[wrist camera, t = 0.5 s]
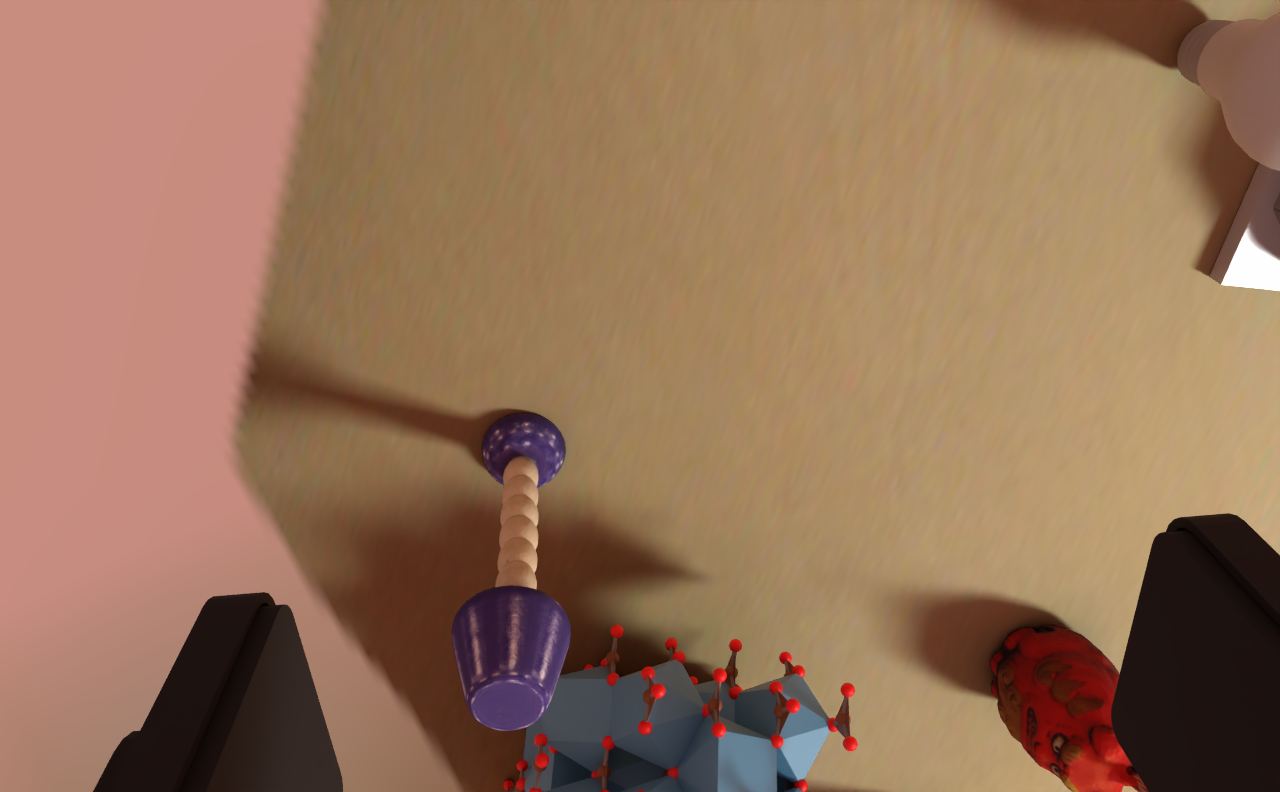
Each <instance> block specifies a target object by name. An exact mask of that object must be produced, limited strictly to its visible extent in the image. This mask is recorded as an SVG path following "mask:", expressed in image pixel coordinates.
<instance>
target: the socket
mask: <svg viewBox="0 0 1280 792" xmlns="http://www.w3.org/2000/svg"><path fill="white" fill-rule="evenodd" d="M1209 277H1211V278H1212V279H1214V280H1215V281H1217V282H1218V283H1220V284H1221V285H1230V286H1240V287H1249V288H1259V289H1269V290H1279V291H1280V171H1278V170H1274V169H1271V168H1269V167H1267V166H1264V165H1262V164H1261V163H1259V164H1258V167H1257V169H1256V171H1255V173H1254V176H1253V178H1252V180H1251V183H1250V185H1249V187H1248V189H1247V192H1246V194H1245V196H1244V199H1243V201H1242V203H1241V205H1240V208H1239V210H1238V212H1237V214H1236V217H1235V219H1234V221H1233V224H1232V226H1231V228H1230V230H1229V233H1228V235H1227V237H1226V240H1225V242H1224V244H1223V246H1222V249H1221V251H1220V253H1219V255H1218V258H1217V260H1216V262H1215V265H1214V267H1213V269H1212V271H1211V274H1210V276H1209Z"/></svg>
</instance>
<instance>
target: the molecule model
mask: <svg viewBox="0 0 1280 792" xmlns="http://www.w3.org/2000/svg"><path fill="white" fill-rule="evenodd" d="M611 635H612V636H613V637H614V640H613V646H612V649H611V652H610V653H608V654H607V656H606V658H605V659H603V660H602V661H601V663H600V666H599V667H595V668H594V667H593V666H592V665H586V666H585V667H584V670H581V671H577V672H572V673H568V674H563V675H559V678H558V681H557V684H556V687H555V690H554V693H553V696H552V698H551V701H550V704H549V706H548V708H547V710H546V711H545V713H544V714H543V716H542V717H541V718H540V719H539V720H538V721H536V722H535V723H534V724H532V725H530V726H528V727H527V730H526V739H525V748H524V756H523V760H520V761H519V762H518V763H517V769H518V771H520V779H519V780H518V781H517V783H516V785H515V790H514V792H805V791H806V790H807V788H808V785H807V782H806V781H805V780H804V779H805V777H806V775H807V773H808V771H809V769H810V767H811V766H812V764H813V762H814V760H815V758H816V756H817V754H818V752H819V750H820V749H821V747H822V745H823V743H824V741H825V739H826V737H827V735H828V734H829V732H830V731H831V732H836V731H837V730H838V731H839V732H840V733H841V734H842V735H843V736H844V737H845V739H844V741H843V746H844V748H845V749H846V750H848V751H854V750H855V749H856V748H857V741H856V739H855V738H854V737H851V736H850V727H849V723H850V716H849V705H848V701H849V697H851V696H853V695H854V693H855V688H854V686H853V685H852V684H850V683H845V684H843V685H842V687H841V693H842V694H843V695H844V700H843V703H842V705H841V707H840V710H839V712H838V714H837V716H836V718H830V719H829V718H828V716H827V715H826V713H825V712H824V710H823V709H822V707H821V705H820V704H819V702H818V701H817V699H816V698H815V696H814V695H813V693H812V692H811V690H810V689H809V687H808V686H807V684H806V683H805V681H804V679H803V678H802V677H803V676H804V675H805V670H804V668H803V667H802V666H800V665H797V666H795V667H793V665H792V664H791V663H790V662H791V659H792V657H791V655H790V653H788V652H782V653H781V654H780V656H779V659H780V661H781V663H783V664H785V667H786V673H785V675H784V677H782V678H779V679H776V680H773V681H770V682H767V683H764V684H761V685H758V686H755V687H752V688H749V689H746V690H743V691H742V689H741V688H740V687H738V686H737V687H736V684H735V678H736V677H737V675H738V670H737V668H736V667H735V660H736V653H737V652H738V651H740V650H741V648H742V644H741V642H740V641H739V640H737V639H734V640H732V641H731V642H730V644H729V647H730V649H731V650H732V651H733V652H732V656H731V658H730V661H729V663H728V666H727V668H726V669H725V670H724V669H722V668H718V669H716V670H715V671H714V672H713V678H714V680H713V681H709V682H705V683H701V684H698V680H697V678H696V677H693V676H692V677H689V675H688V673H687V672H686V670H685V668H684V666H683V663H684V662H685V654H684V653H683V652H681V651H677V652H675V649H676V648H677V645H678V644H677V641H676V640H675V639H674V638H669V639H667V640H666V642H665V646H666V648H667V649H668V650H670V656H671V659H669V660H668V662H665V663H662V664H659V665H656V666H653V667H645V668H643V669H642V670H641V671H638V672H635V673H632V674H629V675H626V676H623V677H619V675H618V674H616V673H615V665H616V664H617V663H618V662H619V655H618V654H617V653H616V648H617V642H618V638H619V637H621V636H622V635H623V628H622V627H621V626H620V625H614V626H613V627H612V628H611ZM524 772H525V773H524ZM503 787H504V789H505V790H506V792H510V790H511V789H512V788H513V782H512V781H511V780H506V781H505V782H504V784H503Z"/></svg>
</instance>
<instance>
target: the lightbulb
mask: <svg viewBox="0 0 1280 792" xmlns="http://www.w3.org/2000/svg"><path fill="white" fill-rule="evenodd" d="M1177 64H1178V68H1179V71H1180V72H1181V74H1182V75H1183V76H1184V77H1185V78H1186V79H1188V80H1189V81H1191V82H1193V83H1195V84H1197V85H1199V86H1201V87H1202V89H1203V90H1204V91H1205V92H1206V94H1207V95H1209V96H1210V97H1212V98H1214V99H1216V100H1218V101H1219V102H1220V103H1221V107H1222V111H1223V115H1224V119H1225V122H1226V126H1227V129H1228V131H1229V133H1230V134H1231V136H1232V138H1233V140H1234V141H1235V142H1236V143H1237V144H1238V145H1239V146H1240V147H1241V148H1242V149H1243V150H1244V151H1245V152H1246V153H1247V155H1248V156H1249V157H1250V158H1252V159H1254V160H1255V161H1257V162H1259V163H1261V164H1262V165H1264V166H1267V167H1269V168H1271V169H1274V170H1278V171H1280V12H1279V13H1277V14H1275V15H1274V16H1272V17H1270V18H1268V19H1267V20H1254V19H1246V20H1240V21H1236V22H1232V21H1225V20H1210V21H1207V22H1204V23H1202V24H1200V25H1198V26H1196V27H1195V28H1194V29H1192V30H1191V31H1190V32H1189V33H1188V34H1187V36H1186V37H1185V38H1184V40H1183V42H1182V44H1181V45H1180V48H1179V51H1178V56H1177Z"/></svg>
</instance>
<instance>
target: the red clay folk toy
mask: <svg viewBox="0 0 1280 792" xmlns="http://www.w3.org/2000/svg"><path fill="white" fill-rule="evenodd" d="M990 667H991V669H992V671H993V673H994V674H995V675H996V678H995V680H993V681H992V683H991V690H992V693H993V694H994V696H995V697H996V698H997V699H998V703H997V705H998V711H999V714H1000V717H1001V719H1002V721H1003V722H1004V723H1005V724H1006V726H1007V728H1008V730H1009V732H1010V734H1011V735H1012V736H1013V737H1014V738H1015V739H1016V740H1018V741H1019V742H1020V743H1021V744H1022V746H1023V747H1024V749H1025V750H1026V752H1027V753H1028V754H1029V755H1030V756H1031V757H1032V758H1033V759H1034V760H1035V762H1036V763H1037V764H1038V765H1039V766H1041V767H1043V768H1045V769H1047V770H1049V771H1050V772H1052V773H1053V774H1055V775H1056V776H1057V777H1059V778H1060V779H1061V780H1062V782H1063V783H1064V785H1065V786H1066V787H1067V788H1068V789H1069V790H1071V791H1073V792H1121V791H1122V788H1123V786H1124V785H1125V786H1132V787H1133V788H1134V789H1136V790H1137V791H1138V792H1149V791H1148V790H1147V788H1146V787H1145V785H1144V784H1143V782H1142V780H1141V779H1140V777H1139V775H1138V774H1137V772H1136V770H1135V769H1134V767H1133V766H1132V764H1131V762H1130V761H1129V759H1128V758H1127V756H1126V754H1125V753H1124V751H1123V749H1122V748H1121V746H1120V745H1119V743H1118V741H1117V739H1116V736H1115V733H1114V730H1113V726H1112V721H1111V708H1112V703H1113V699H1114V695H1115V691H1116V687H1117V683H1118V679H1119V675H1120V674H1119V672H1118V671H1117V669H1116V668H1115V666H1114V665H1113V664H1112V663H1111V661H1110V660H1109V659H1108V658H1107V657H1106V656H1105V655H1104V654H1103V653H1102V652H1101V651H1100V650H1099V649H1098V648H1097V647H1095V646H1094V645H1093V644H1092V643H1091V642H1090V641H1089V640H1088V639H1086V638H1085V637H1084V636H1082V635H1081V634H1078V633H1075V632H1073V631H1070V630H1067V629H1065V628H1061V627H1057V626H1054V625H1044V626H1041V627H1040V629H1039V630H1038V631H1035V630H1034V629H1033V628H1031V627H1029V628H1025V629H1022V628H1020V629H1018V630H1016V631H1015V632H1013V633H1011V634H1009V635H1008V637H1007V638H1006V641H1005V644H1004V646H1003V647H1002V648H1001V649H1000V650H999V651H998V652H996V654H995V655H994V656H993V657H992V658H991V661H990Z"/></svg>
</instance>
